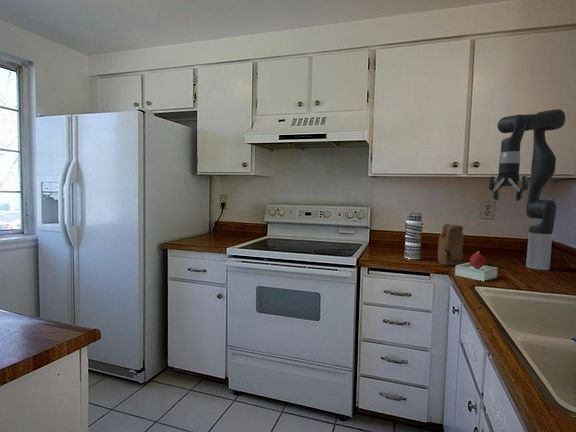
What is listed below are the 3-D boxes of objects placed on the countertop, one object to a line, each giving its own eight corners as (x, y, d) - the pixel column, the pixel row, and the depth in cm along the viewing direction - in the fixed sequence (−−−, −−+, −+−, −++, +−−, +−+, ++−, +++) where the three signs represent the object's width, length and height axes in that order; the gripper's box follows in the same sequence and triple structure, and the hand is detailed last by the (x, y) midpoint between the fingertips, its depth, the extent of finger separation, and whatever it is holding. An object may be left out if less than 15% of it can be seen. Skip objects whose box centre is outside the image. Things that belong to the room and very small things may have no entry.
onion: (466, 268, 148) (467, 250, 148) (473, 267, 152) (474, 249, 151) (480, 271, 144) (481, 252, 143) (487, 270, 147) (488, 251, 146)
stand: (468, 271, 156) (469, 262, 156) (496, 277, 147) (497, 267, 146) (455, 274, 149) (455, 265, 149) (483, 281, 140) (484, 271, 139)
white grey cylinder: (409, 255, 191) (411, 211, 189) (424, 258, 183) (427, 212, 181) (399, 257, 185) (401, 211, 183) (414, 260, 178) (417, 213, 176)
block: (452, 262, 176) (454, 223, 174) (463, 265, 169) (466, 225, 167) (434, 263, 173) (437, 224, 171) (445, 266, 166) (448, 225, 164)
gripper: (531, 162, 144) (529, 200, 145) (495, 164, 155) (493, 199, 157) (524, 161, 140) (521, 201, 141) (487, 163, 151) (485, 199, 152)
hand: (506, 200), depth 149 cm, fingers open, 8 cm apart
